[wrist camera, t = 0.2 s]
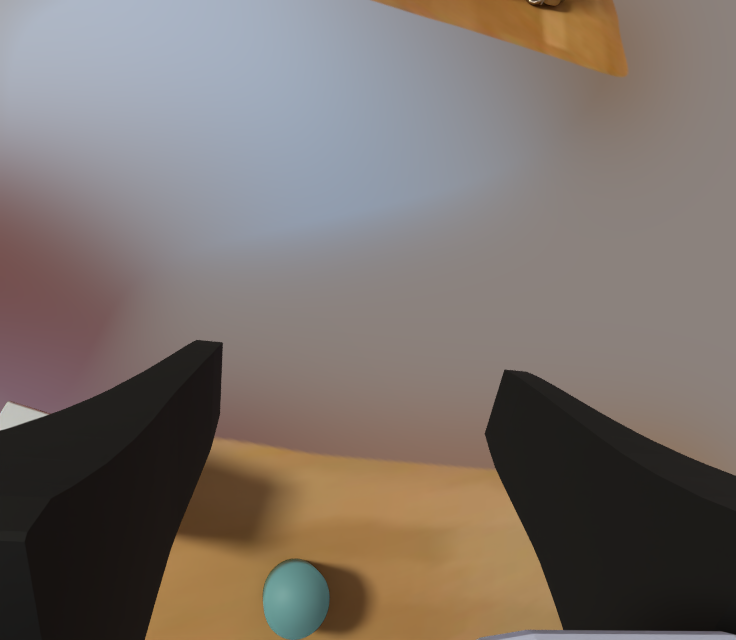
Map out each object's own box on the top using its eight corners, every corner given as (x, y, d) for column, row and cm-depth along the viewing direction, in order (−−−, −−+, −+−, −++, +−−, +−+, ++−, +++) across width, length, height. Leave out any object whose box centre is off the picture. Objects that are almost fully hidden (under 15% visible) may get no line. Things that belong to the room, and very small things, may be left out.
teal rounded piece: (318, 627, 35) (325, 640, 32) (258, 624, 35) (258, 638, 31) (325, 560, 37) (332, 566, 34) (268, 556, 36) (269, 561, 33)
